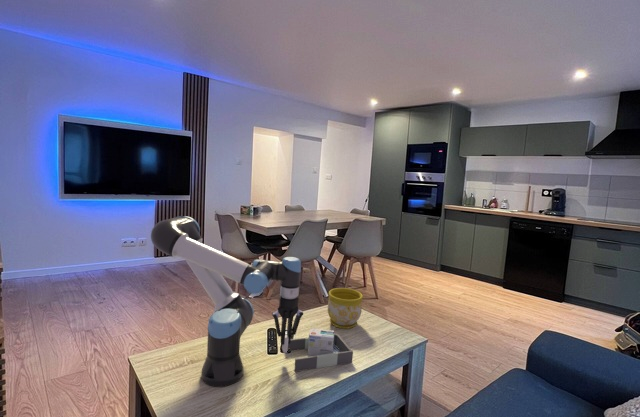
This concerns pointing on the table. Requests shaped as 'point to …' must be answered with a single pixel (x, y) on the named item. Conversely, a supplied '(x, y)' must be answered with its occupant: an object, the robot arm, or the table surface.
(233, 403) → the table surface
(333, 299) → the flowerpot
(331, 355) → the trap channel
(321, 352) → the light bulb box
